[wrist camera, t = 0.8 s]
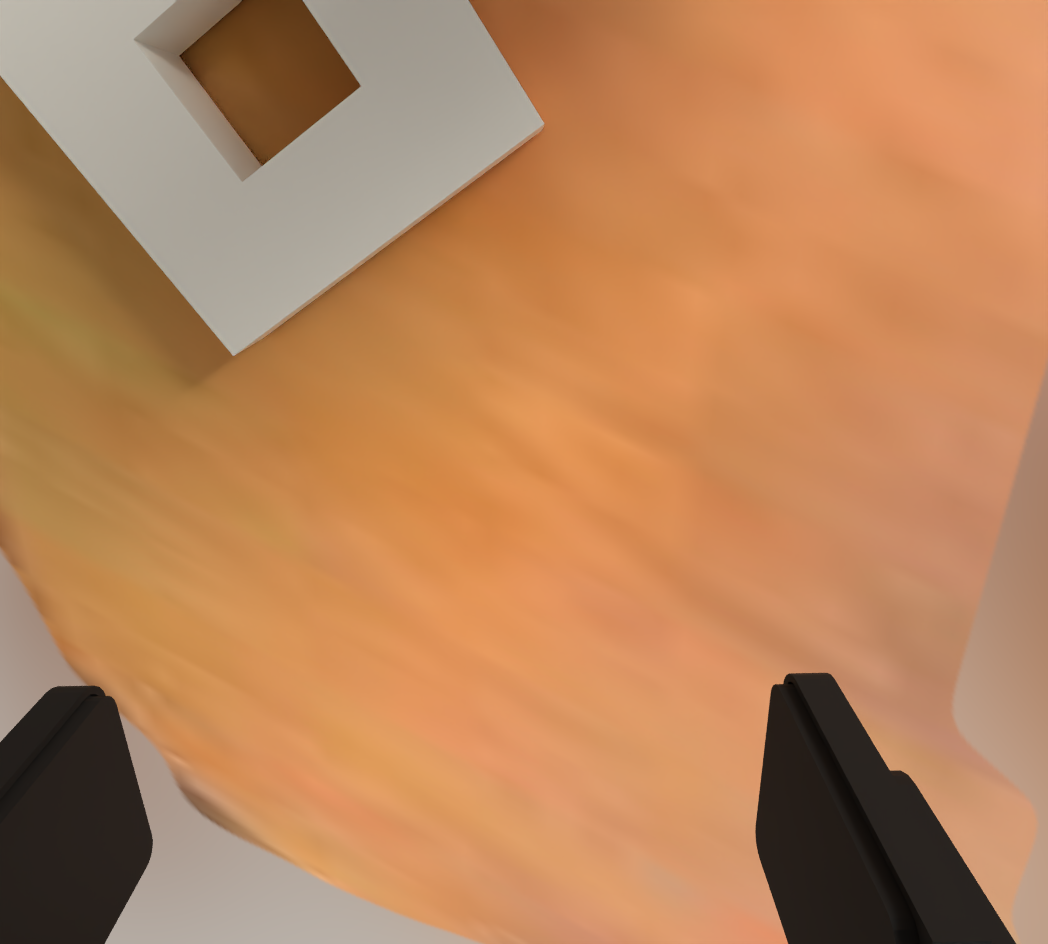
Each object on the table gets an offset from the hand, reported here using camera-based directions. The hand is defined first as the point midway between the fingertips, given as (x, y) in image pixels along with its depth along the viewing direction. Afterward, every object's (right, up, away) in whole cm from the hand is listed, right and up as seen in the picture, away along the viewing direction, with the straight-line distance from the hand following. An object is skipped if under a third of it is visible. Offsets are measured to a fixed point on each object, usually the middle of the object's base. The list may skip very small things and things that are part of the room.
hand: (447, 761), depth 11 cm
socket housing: (-9, +21, +21) cm, 31 cm away
